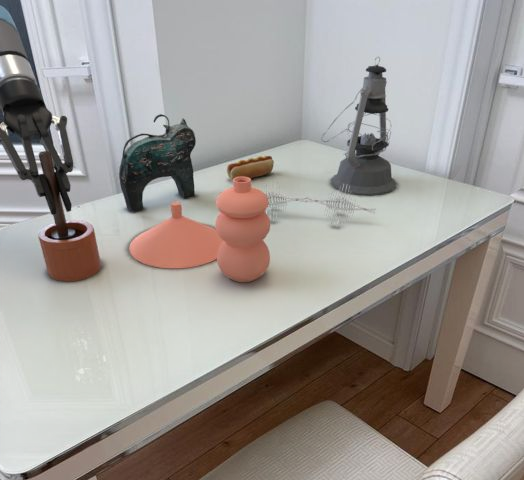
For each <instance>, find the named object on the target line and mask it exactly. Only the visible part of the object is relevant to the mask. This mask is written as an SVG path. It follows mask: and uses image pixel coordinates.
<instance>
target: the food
mask: <svg viewBox="0 0 524 480" xmlns="http://www.w3.org/2000/svg"><path fill="white" fill-rule="evenodd" d="M274 163H275V161H274V159H273V157H272V156H271V155H264V156H262V155H260V156H257V157H255V158H254V157H251V158H247V160H246V159H240V160H238V161H236V162H234V163H230V164H227V165H226V174H227V176H228V179H229V180H232V181H233V179H234V178H236V177H248V178H250V179H255V178H257V177H262V176H265V175H269V174H270V173H272V171H273V169H274Z"/></svg>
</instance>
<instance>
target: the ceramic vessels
mask: <svg viewBox="0 0 524 480" xmlns="http://www.w3.org/2000/svg"><path fill="white" fill-rule="evenodd" d="M269 202H270V200H269V201H268V197H267V194H266V192H264V191H263V190H262V189H261V190H260V188H256V187H253V186H252V178H248V177H236V178H234V179H233V180H232V187H229V188H226V189H224V190H223V191H222V192H220V193H219V194H218V196H217V197H216V202H215V206H216V208H217V209H218V211H219V213H218V215H217V216H216V219H215V224H214V226H215V227H211V226H210V225H207V224H204V223H202V222H200V221H196V220H193V219H191V218H189V217H186V216H184V215H183V213H182V210H183V207H182V203H181V202H180V201H172V202H171V203H170V212H171V216H170V217H169V218H167V219H165V220H163V221H161V222H159V223H158V224H156V225H154V226H153V227H150V228H149V229H147V230H146V231H144V232H142V233H140V234H138V235H137V236H135V237H134V238H133V240H132V241H131V242H130V245H129V246H128V251H129V253H130V255H131V257H133V259H135V260H136V261H138V262H140V263H142V264H144V265H146V266H149V267H150V266H151V267H155V268H161V269H186V268H194V267H200V266H202V265H206V264H209V263H211V262H213V261H215V260H216V262H217V267H218V268H219V270H220V272H221V273H222V274H223V275H225V276H226V277H227V278H229V279H231V280H233V281H235V282H238V283H251V282H253V281H255V280H257V279H258V278H260V277H262V276H263V275H264V274H265V273H266V271H268V269H269V267H270V262H271V253H270V250H269V247H268V245H267V244H266V242H265V241H264V240H265V239H266V238H267V236H268V234H269V232H270V230H271V219H270V216H269V214H268V213H267V212H266V213H265V210H266V211H267V209H268V208H269ZM267 214H268V215H267Z"/></svg>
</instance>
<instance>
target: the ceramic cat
mask: <svg viewBox="0 0 524 480" xmlns="http://www.w3.org/2000/svg"><path fill="white" fill-rule="evenodd" d="M161 117H162V118H165V119H166V120H167V124H163V125H162V126H163V128H164V129H165V132H164V133H163V134H159V135H157V134H149V133H138V134H136V135H134V136H132V137H130V138H129V139H128V140H126V142H125V143H124V147H123V148H122V155H121V156H122V157H121V160H120V164H119V167H118V168H119V170H118V171H119V172H118V179H119V184H120V189H121V192H122V196H123V198H124V202H125V206H126V209H127V210H128V211H130V212H131V213H135V212H138V211H142V210H143V209H144V202H143V200H144V199H143V197H144V191H145V189H146V187H147V185H149V183H151V182H152V181H155V180H156V179H160V178H167V177H171V178H172V179H173V182H174V184H175V186H176V189H177V193H178V195H179V196H180V197H181V198H183V199H187V198H189V197H194V196H195V195H196V194H195V180H194V178H195V177H194V167H193V162H192V158H191V154H192V152H193V150H194V149H195V147H196V143H197V142H196V140H197V139H196V134H195V132H194V130H193V129H192V128H191V127H189V125H188V123H187V121H186V119H185V118H183V117H182V118H181V120H180V123H177V124H174V125H170V119H169V118H168V116H166V115H165V114H162V113H159V114H157V115H155V116H154V118H153V123H156V121H157V120H158V119H159V118H161ZM141 136H142V137H143V136H146V137H144V138H142V139H139V140H136V141H134V142H132V143H131V144H130V146H128V145H129V143H130V142H131V141H133V140H134V139H137V138H139V137H141ZM127 146H128V147H127Z"/></svg>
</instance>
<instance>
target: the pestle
mask: <svg viewBox="0 0 524 480" xmlns="http://www.w3.org/2000/svg"><path fill="white" fill-rule="evenodd" d="M37 154H38V159H39V162H40V167H41V172H42V174H44V176H45V179H46V181H47V184H48V187H49V189H50V192H51V195H52V198H53V200H54V203H55V206H56V214H54V215H52V216H53V221H54V223H55V225H56V229H57V230H56V231H54V232H52V234H51V237H52V239H53V240H68V239H73V238H76V233H75V231H74V230H73V229H68V227H67V223H66V221H67V219H66V215H65V211H64V206H63V200H62V198H61V195H60V192H59V188H58V184H57V179H56V175H55V172H56V171H55V169H54V166H53V162H52V157H51V153H50V152H48V151H45V150H43V151H39V152H38V153H37Z"/></svg>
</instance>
